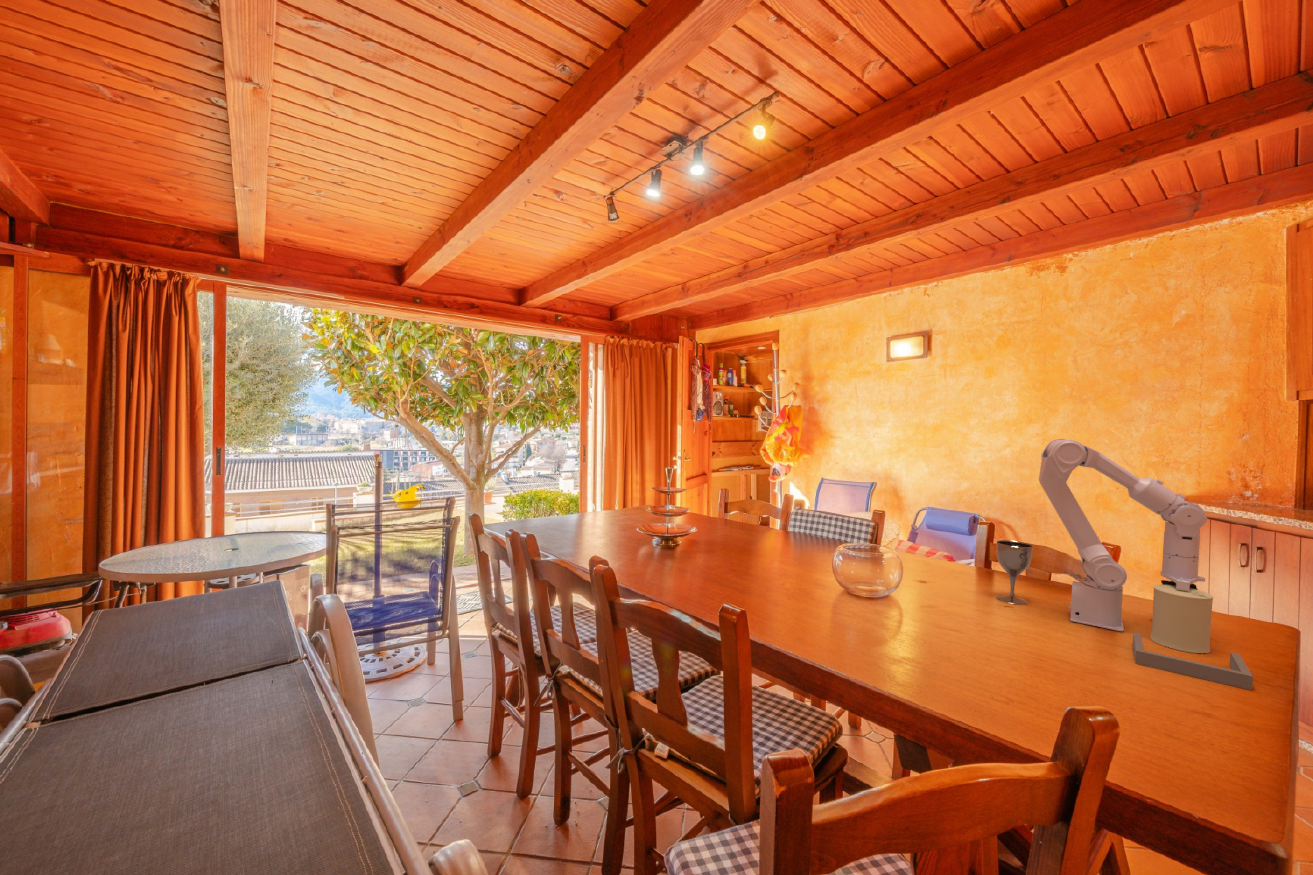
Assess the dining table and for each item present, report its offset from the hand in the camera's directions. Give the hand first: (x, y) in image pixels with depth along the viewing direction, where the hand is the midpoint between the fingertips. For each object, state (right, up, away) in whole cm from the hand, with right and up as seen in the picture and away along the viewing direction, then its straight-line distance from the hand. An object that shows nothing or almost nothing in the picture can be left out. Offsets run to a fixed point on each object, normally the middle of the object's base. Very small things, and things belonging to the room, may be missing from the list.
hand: (1177, 615), depth 119 cm
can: (-5, -5, -5) cm, 8 cm away
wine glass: (-23, -3, +21) cm, 31 cm away
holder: (-13, -5, -15) cm, 21 cm away
